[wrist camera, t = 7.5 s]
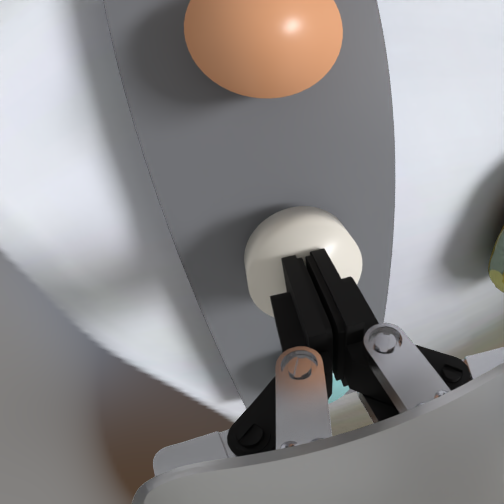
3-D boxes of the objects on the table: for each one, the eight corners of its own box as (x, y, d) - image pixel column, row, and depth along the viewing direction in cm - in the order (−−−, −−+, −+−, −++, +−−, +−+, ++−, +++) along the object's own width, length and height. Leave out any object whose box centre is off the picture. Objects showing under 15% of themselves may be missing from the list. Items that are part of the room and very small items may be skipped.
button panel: (109, -38, 7) (94, -52, 5) (333, -72, 7) (349, -87, 5) (247, 396, 24) (250, 416, 22) (363, 368, 23) (370, 386, 22)
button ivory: (233, 220, 12) (235, 241, 10) (346, 195, 12) (362, 213, 10) (255, 306, 14) (259, 330, 13) (348, 283, 14) (360, 305, 13)
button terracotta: (176, -11, 7) (170, -24, 6) (311, -28, 7) (326, -42, 5) (204, 108, 9) (203, 113, 8) (334, 86, 9) (353, 88, 8)
